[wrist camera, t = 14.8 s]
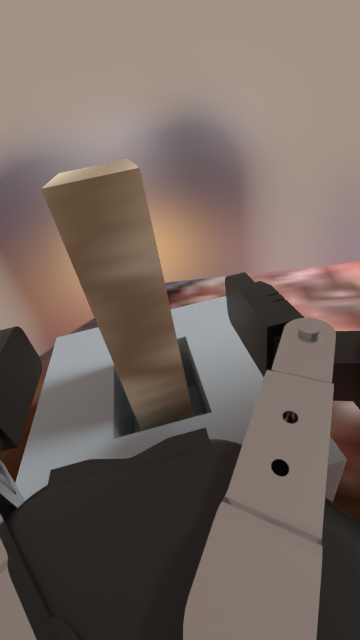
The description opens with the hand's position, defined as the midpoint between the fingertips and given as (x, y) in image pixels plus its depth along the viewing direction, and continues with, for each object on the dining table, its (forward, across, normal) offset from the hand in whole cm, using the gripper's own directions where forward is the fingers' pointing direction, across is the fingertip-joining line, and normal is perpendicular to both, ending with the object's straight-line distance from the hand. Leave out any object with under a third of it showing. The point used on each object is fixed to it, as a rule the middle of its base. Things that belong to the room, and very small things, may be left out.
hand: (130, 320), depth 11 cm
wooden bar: (+3, 0, +11) cm, 11 cm away
